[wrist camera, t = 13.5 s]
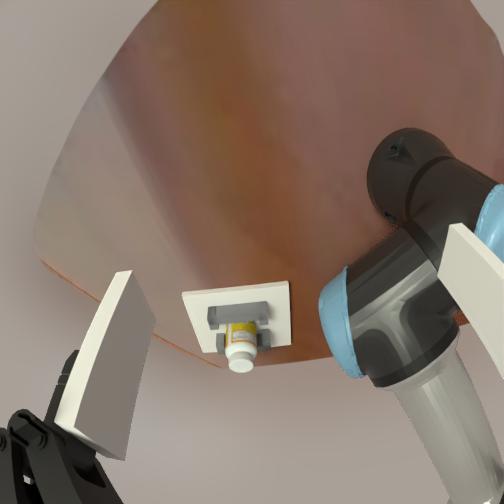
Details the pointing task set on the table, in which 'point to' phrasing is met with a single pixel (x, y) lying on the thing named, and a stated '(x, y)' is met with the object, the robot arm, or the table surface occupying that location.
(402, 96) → the table surface
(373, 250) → the robot arm
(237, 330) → the supplement bottle
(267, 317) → the socket
